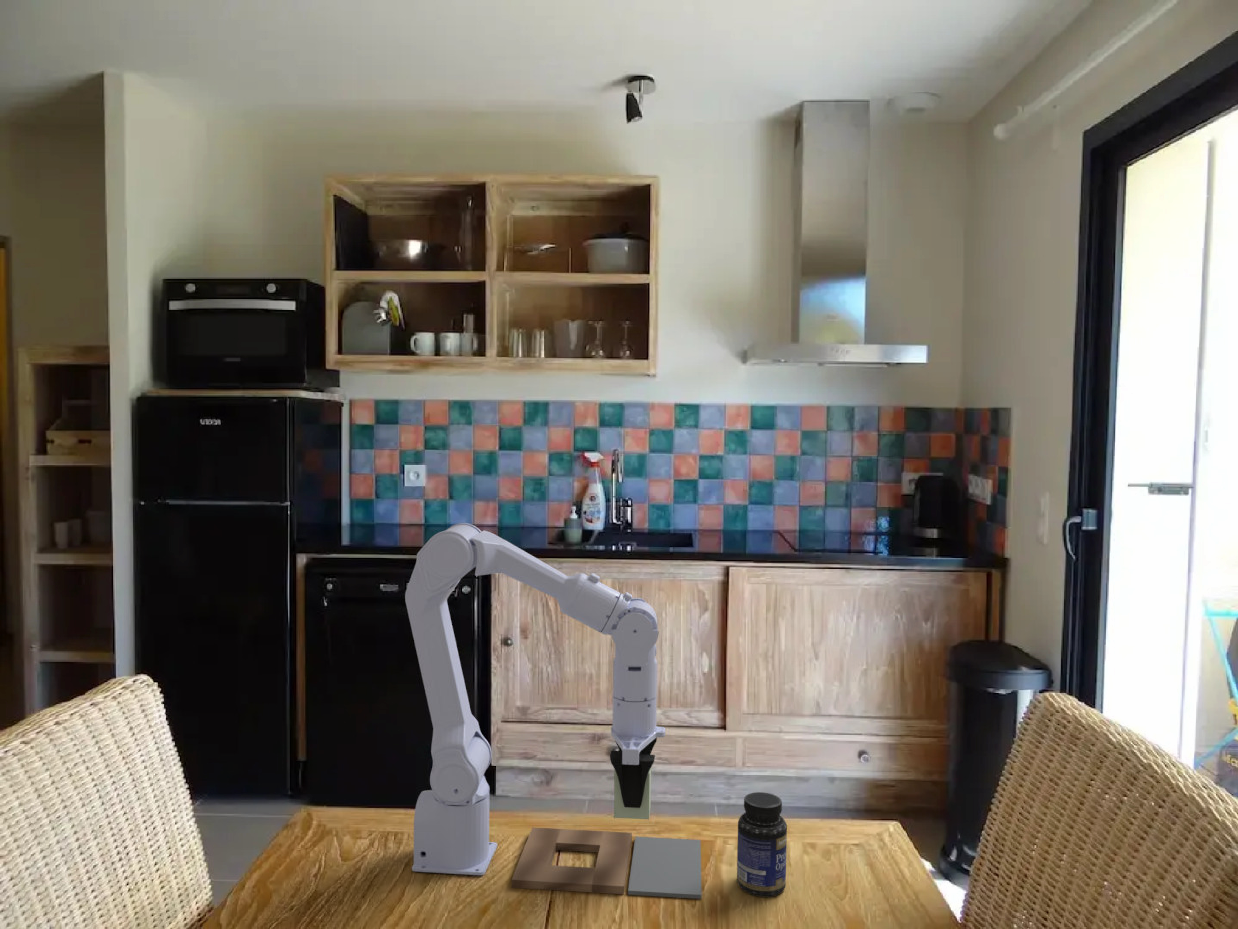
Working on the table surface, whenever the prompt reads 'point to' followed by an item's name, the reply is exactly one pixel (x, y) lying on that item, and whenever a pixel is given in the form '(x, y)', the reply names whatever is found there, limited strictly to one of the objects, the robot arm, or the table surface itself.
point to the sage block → (632, 812)
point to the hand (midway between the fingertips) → (633, 798)
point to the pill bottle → (762, 846)
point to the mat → (666, 868)
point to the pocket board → (543, 875)
